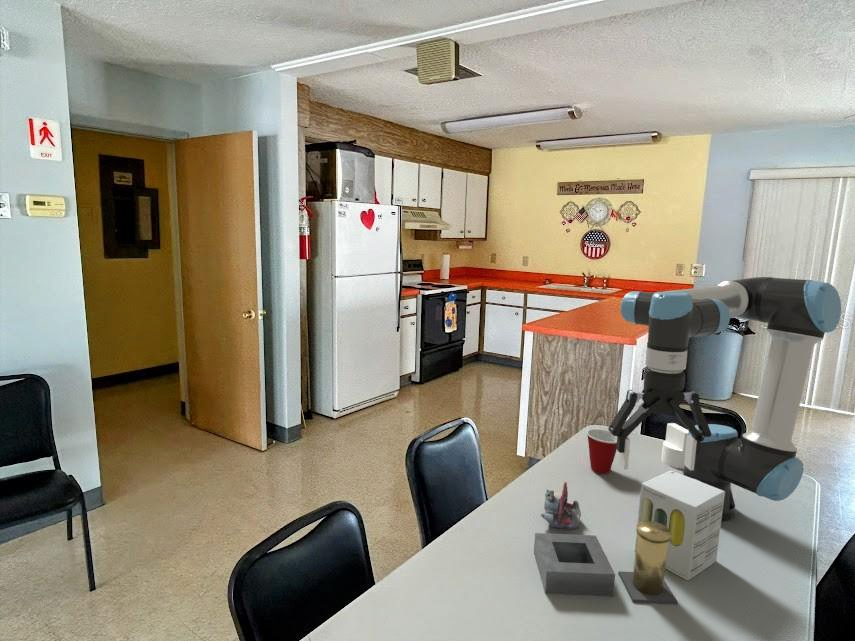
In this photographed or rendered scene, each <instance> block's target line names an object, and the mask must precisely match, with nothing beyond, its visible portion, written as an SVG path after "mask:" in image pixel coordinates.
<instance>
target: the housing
mask: <svg viewBox="0 0 855 641" xmlns="http://www.w3.org/2000/svg"><path fill="white" fill-rule="evenodd" d="M603 549H604V548H602V545H601V543H600V541H599V539H598V537H597V535H591V534H590V535H589V534H569V533H568V534H567V533H566V534H565V533H564V534H563V533H542V532H541V533H540V532H535V533H534V543H533V555H534V558H535V563H536V566H537V569H538V573H539V578H540V580H541V584H542V587H543V591H544V594H555V595H556V594H557V595H575V596H576V595H577V596H578V595H579V596H600V597H604V596H605V597H614V592H615V580H616V573H615V571H614V569H613V567H612V565H611V563H610V562H609V559H608V557H607V555H606V553H605V551H604V550H603Z"/></svg>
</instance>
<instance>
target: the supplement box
mask: <svg viewBox="0 0 855 641" xmlns="http://www.w3.org/2000/svg"><path fill="white" fill-rule="evenodd" d="M724 497H725V491H723V490H720V489H718V488H715V487H713V486H710V485H707V484H705V483H702V482H700V481H698V480H696V479H692V478H690V477H687V476H685V475H683V473H682V474H681V473H679V472H676V471H675V470H674V471H673V470H672V469H671V470H668V471H666V472H664V473H662V474H660V475H657V476H655V477H653V478H652V477H651V478H650V479H649V480H647V481H644V482H641V488H640V495H639V507H638V516H637V523H638V522H640V521H654V522H657V523H660V524H662V525H664V526H666V527H667V528H668V529H669V530H670V531H671V539H670V540H669V542H668V551H667V560H666V568H665V570H668V571H669V572H671V573H673V574H674V575H677V576H679V577H680V578H682V579H684V580H685V581H690V580H691V579H692V578H694V577H696V576H697V575H698V574H700V573H701V572H703V571H704V570H705V569H707V568H709V567H710V566H712V565H713V564H715V563H716V562H717V558H718V549H719V542H720V534H721V525H722V521H721V519H722V511H723V504H724ZM636 542H637V534H636V537H635V543H636ZM634 546H635V547H634V552H636V544H635V545H634Z"/></svg>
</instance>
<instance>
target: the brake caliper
mask: <svg viewBox="0 0 855 641" xmlns="http://www.w3.org/2000/svg"><path fill="white" fill-rule="evenodd" d="M568 494H569V493H568V484H567V482H566V481H564V482H563V486H562V492H561V493H555V490H553V489H546V491H545V494H544V507H543V508H544V511H545V513H541V514H540V516H541V517H542V518H543V520H545V521H546V522H547V523H548V524H549V526H551V527H552V528H556V529H568V530H576V528H577V527H578V526H579V525H580V519H581V517H582V512H581V508H580V504H579V502H578V500H573V502H572V503H569V502H568V500H569V499H568Z"/></svg>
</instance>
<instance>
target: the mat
mask: <svg viewBox="0 0 855 641" xmlns="http://www.w3.org/2000/svg"><path fill="white" fill-rule="evenodd" d="M633 572H634V571H621V570H620V571H618V576H619V578H620V579H621V583H623V586H624V588H625V590H626V591H627V594H628V596H629V598H630V600H631V601H632V603H645V604H649V603H650V604H664V605H665V604H666V605H667V604H669V605H678V602H679V601H678V599H677V598H676V596H675V594H674V593H673V592H672V590H671V588H670V587H669V585H668V584H667V582H666V580H665V579H664V586H663V592H662V593H661V594H659V595H648V594H644V593H642V592H640V591H639V590H637V589H636V588H635V587H634V585H633V583H632V581H633Z"/></svg>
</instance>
